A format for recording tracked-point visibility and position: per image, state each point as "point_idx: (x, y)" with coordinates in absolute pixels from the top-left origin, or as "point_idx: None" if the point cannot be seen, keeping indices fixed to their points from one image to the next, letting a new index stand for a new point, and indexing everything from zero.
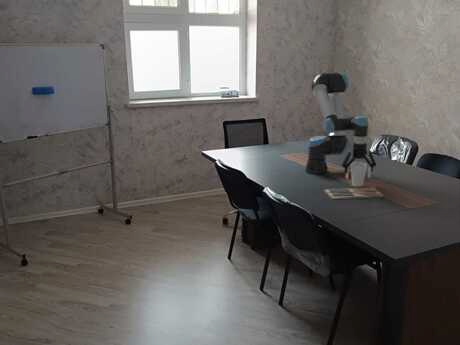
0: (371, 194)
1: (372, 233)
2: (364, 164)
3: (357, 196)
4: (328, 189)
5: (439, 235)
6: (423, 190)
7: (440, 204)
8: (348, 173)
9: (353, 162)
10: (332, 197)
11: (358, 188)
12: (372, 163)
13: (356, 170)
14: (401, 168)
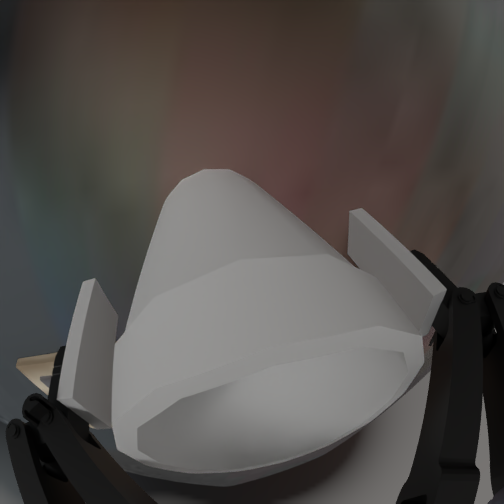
0: None
1: (211, 477)
2: (394, 354)
3: None
4: (34, 368)
5: (313, 455)
6: (481, 265)
7: (423, 364)
8: (110, 366)
9: (169, 393)
10: (93, 427)
11: None
12: (492, 312)
13: (211, 412)
14: None
